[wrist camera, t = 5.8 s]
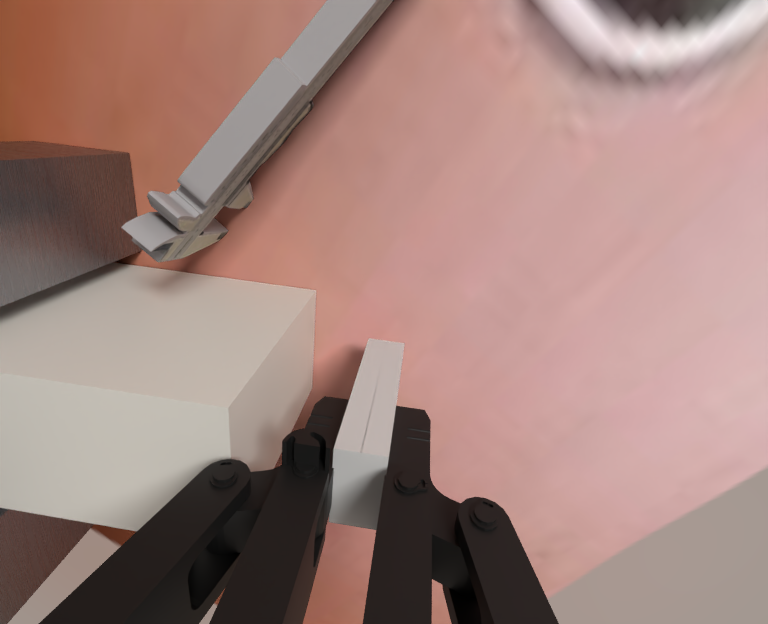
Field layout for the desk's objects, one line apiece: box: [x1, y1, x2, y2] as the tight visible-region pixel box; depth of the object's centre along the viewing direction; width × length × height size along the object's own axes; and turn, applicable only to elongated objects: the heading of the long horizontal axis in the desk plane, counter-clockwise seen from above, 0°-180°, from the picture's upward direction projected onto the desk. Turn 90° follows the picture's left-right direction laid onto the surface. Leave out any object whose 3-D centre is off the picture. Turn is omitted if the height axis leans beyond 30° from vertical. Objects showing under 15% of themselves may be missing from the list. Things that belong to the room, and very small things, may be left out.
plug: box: [0, 262, 316, 531], centre depth 16 cm, size 5×18×8 cm, turn 84°
